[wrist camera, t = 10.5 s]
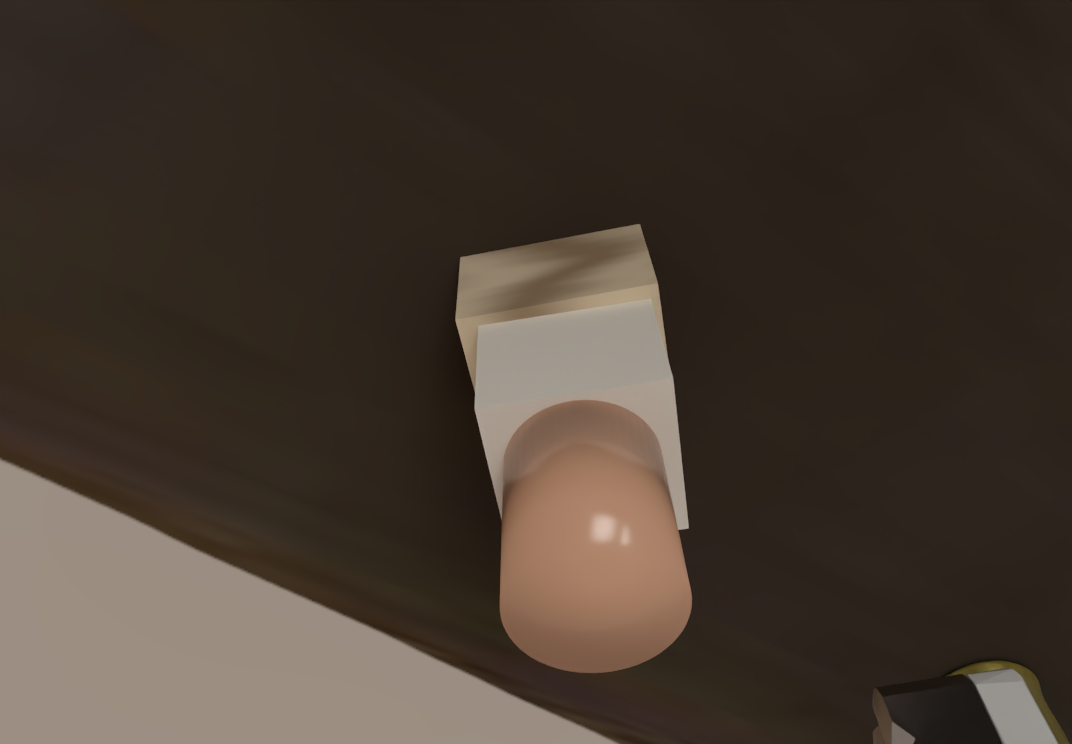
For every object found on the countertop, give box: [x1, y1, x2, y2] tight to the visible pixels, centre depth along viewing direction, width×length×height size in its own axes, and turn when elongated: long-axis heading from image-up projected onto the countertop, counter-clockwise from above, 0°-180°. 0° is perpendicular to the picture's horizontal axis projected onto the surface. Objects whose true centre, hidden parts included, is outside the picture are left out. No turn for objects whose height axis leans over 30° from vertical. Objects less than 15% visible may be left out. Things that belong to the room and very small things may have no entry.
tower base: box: [455, 224, 668, 391], centre depth 37 cm, size 7×7×5 cm
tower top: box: [474, 299, 689, 530], centre depth 32 cm, size 6×6×5 cm
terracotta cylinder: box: [500, 400, 692, 673], centre depth 27 cm, size 5×5×6 cm
